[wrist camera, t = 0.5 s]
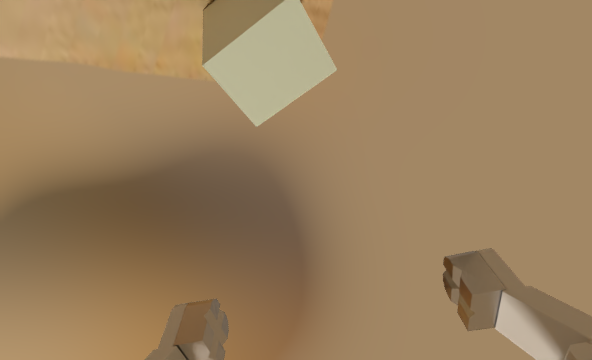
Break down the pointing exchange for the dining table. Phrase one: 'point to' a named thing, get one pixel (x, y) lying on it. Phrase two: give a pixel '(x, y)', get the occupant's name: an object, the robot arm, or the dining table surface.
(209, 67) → the pale green block
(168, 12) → the dining table surface
